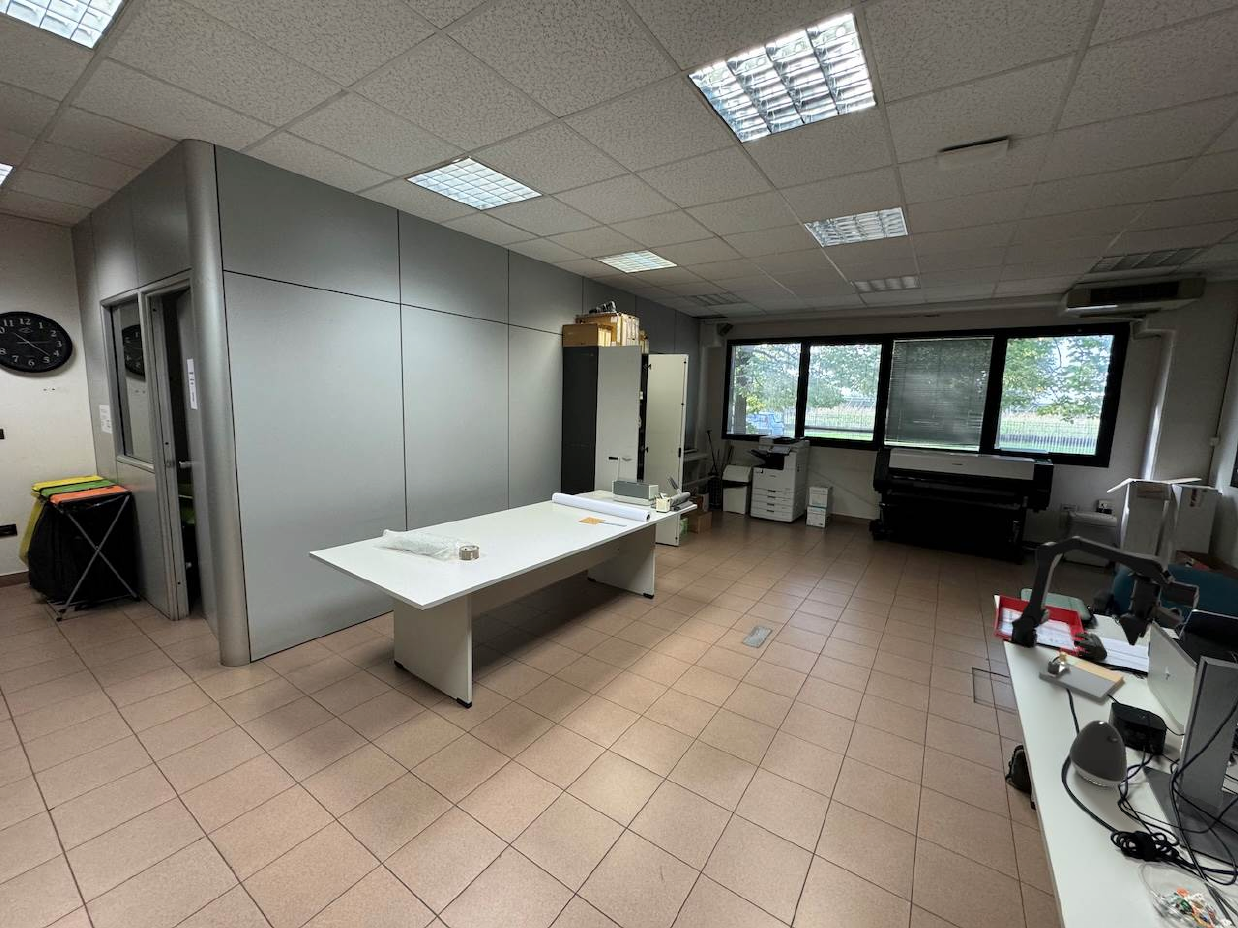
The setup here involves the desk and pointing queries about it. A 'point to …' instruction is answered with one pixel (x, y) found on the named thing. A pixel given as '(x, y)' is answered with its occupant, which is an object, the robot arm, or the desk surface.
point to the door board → (1084, 678)
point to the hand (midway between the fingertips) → (1136, 641)
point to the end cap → (1090, 648)
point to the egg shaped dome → (1099, 754)
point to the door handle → (1057, 668)
